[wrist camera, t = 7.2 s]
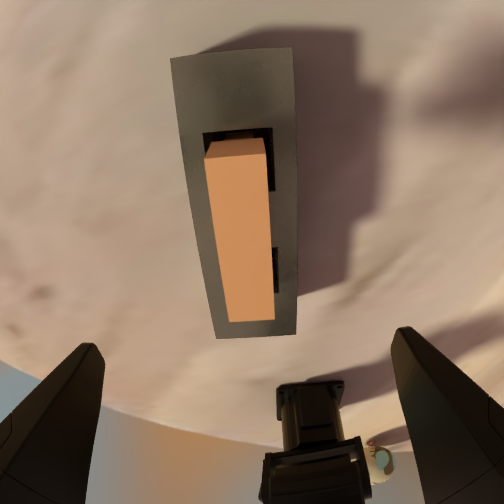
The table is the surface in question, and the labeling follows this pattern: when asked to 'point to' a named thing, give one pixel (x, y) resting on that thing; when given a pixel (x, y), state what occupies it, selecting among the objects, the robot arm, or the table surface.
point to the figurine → (379, 463)
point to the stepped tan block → (242, 224)
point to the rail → (278, 176)
